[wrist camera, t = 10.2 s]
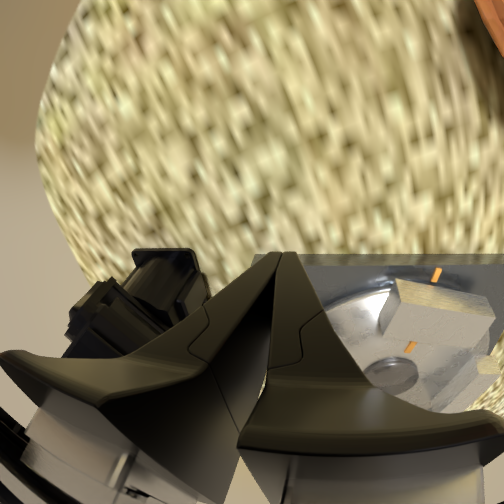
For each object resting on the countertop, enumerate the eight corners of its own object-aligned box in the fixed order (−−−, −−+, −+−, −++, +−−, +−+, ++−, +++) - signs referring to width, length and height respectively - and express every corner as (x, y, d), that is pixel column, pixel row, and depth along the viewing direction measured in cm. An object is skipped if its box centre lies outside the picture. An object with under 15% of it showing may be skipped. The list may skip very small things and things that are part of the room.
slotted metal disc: (424, 419, 31) (425, 441, 28) (263, 402, 34) (258, 426, 31) (528, 299, 18) (542, 324, 15) (302, 251, 21) (297, 282, 18)
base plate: (278, 406, 37) (276, 416, 36) (255, 254, 24) (250, 266, 23) (449, 402, 31) (451, 412, 30) (525, 253, 18) (533, 264, 17)
